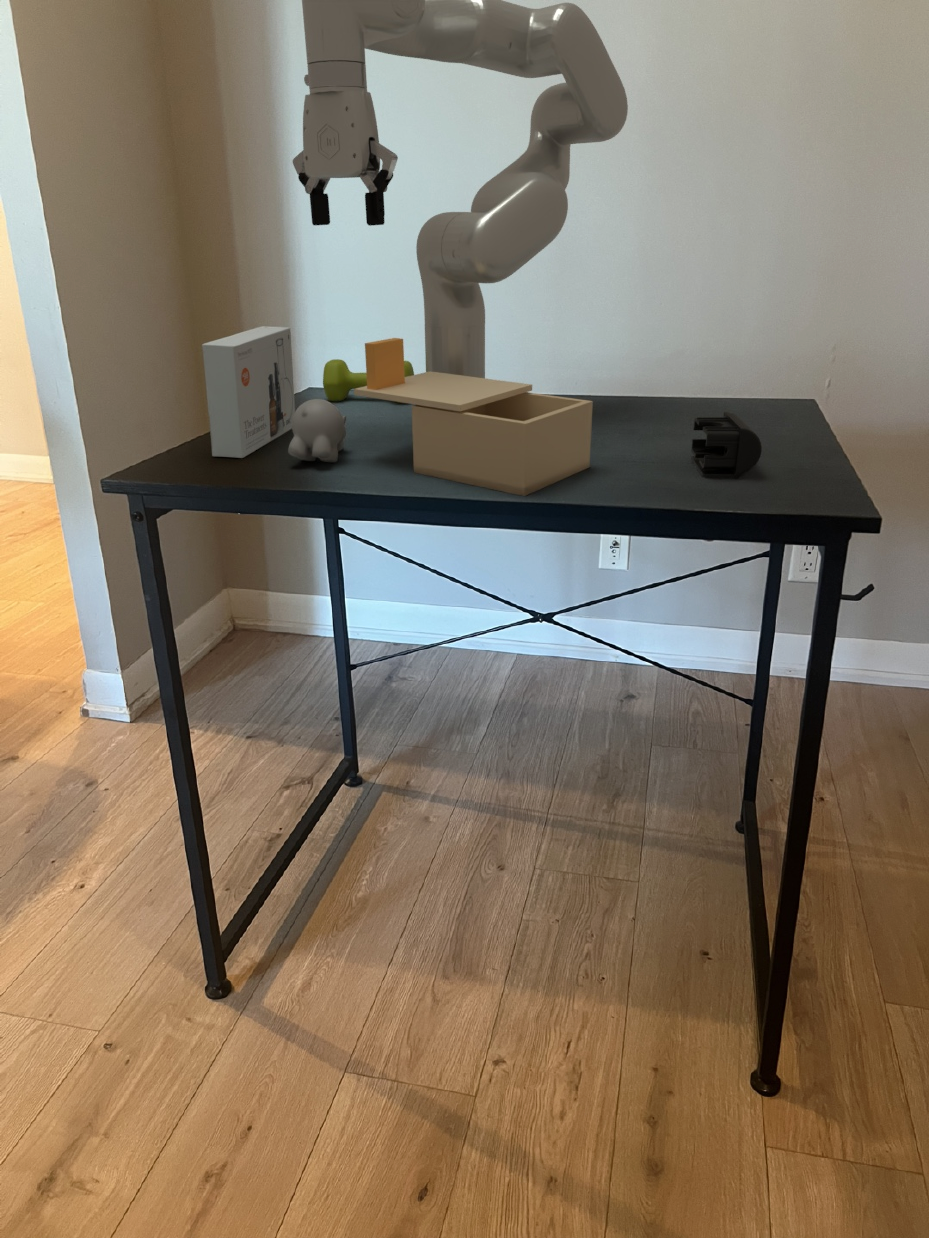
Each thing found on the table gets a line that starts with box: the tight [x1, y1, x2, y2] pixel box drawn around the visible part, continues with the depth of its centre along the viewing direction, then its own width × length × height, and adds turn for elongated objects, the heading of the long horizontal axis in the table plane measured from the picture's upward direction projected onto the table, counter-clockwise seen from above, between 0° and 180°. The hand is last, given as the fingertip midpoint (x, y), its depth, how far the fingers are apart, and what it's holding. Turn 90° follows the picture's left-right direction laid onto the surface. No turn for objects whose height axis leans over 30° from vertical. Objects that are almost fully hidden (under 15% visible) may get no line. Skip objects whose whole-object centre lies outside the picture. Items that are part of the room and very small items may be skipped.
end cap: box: [690, 411, 763, 479], centre depth 119 cm, size 10×7×7 cm
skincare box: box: [201, 325, 296, 459], centre depth 133 cm, size 21×5×16 cm, turn 168°
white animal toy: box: [287, 398, 347, 463], centre depth 126 cm, size 7×12×8 cm, turn 162°
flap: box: [353, 337, 533, 411], centre depth 121 cm, size 16×18×7 cm
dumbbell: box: [322, 358, 415, 404], centre depth 162 cm, size 16×8×7 cm, turn 80°
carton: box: [411, 391, 594, 497], centre depth 119 cm, size 16×18×9 cm
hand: (348, 225), depth 123 cm, fingers open, 9 cm apart
